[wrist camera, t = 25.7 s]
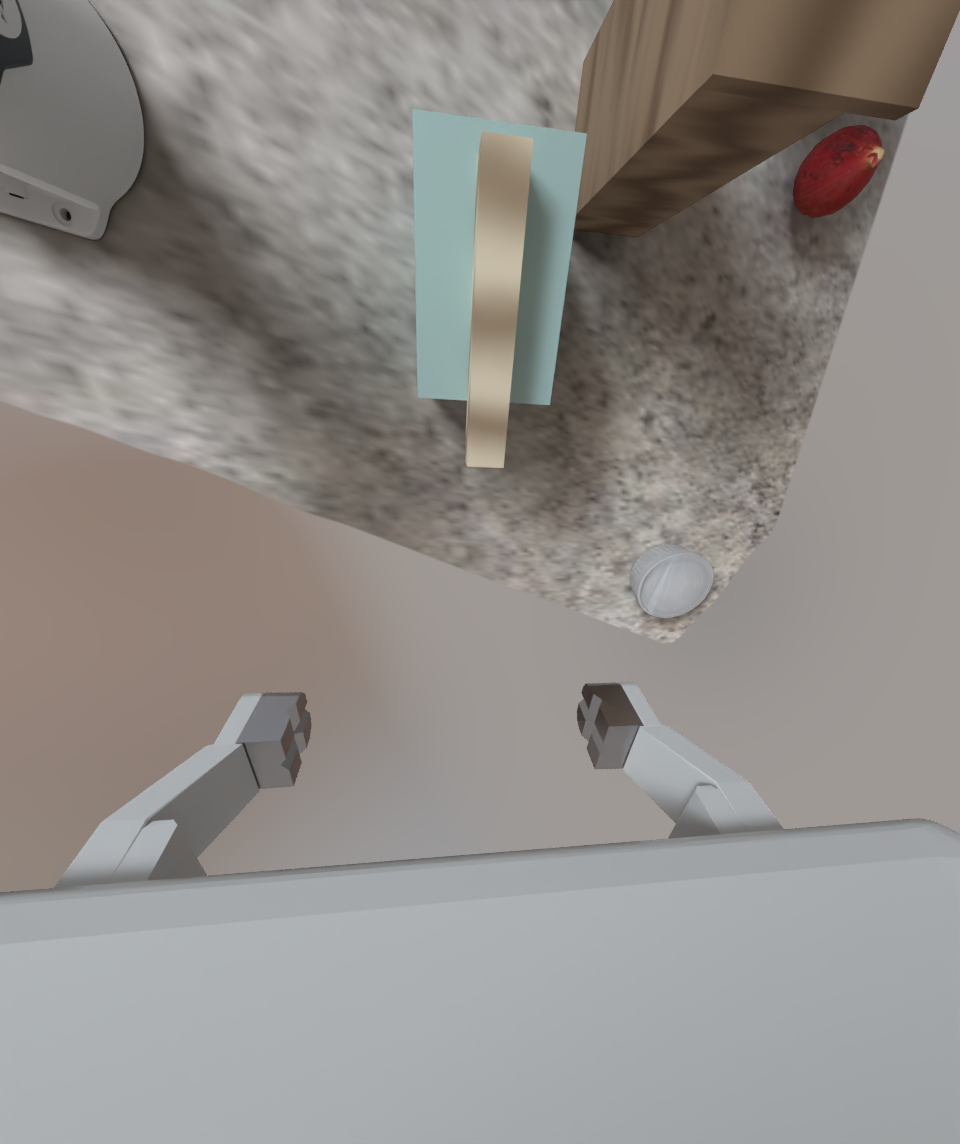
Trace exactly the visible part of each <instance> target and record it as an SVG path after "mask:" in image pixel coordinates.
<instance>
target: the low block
mask: <svg viewBox="0 0 960 1144" xmlns="http://www.w3.org/2000/svg"><path fill="white" fill-rule="evenodd" d="M412 117H413V173H414V229H415V285H416V341H417V397H418V398H430V399H448V400H466V401H467V392H468V368H469V344H470V319H471V295H472V271H473V247H474V223H475V199H476V175H477V154H478V149H479V144H480V139H481V134H482V131H485V132H492V133H499V134H506V135H513V136H520V137H528V138H534V139H533V150H532V161H531V172H530V183H529V194H528V205H527V216H526V227H525V238H524V249H523V260H522V271H521V282H520V293H519V304H518V315H517V326H516V337H515V348H514V359H513V370H512V381H511V392H510V403H519V404H537V405H550V401H551V394H552V386H553V379H554V372H555V364H556V357H557V350H558V342H559V335H560V328H561V320H562V313H563V306H564V298H565V291H566V284H567V276H568V269H569V262H570V254H571V247H572V240H573V232H574V225H575V218H576V210H577V203H578V196H579V188H580V181H581V174H582V166H583V159H584V152H585V144H586V137H587V133H580V132H573V131H566V130H559V129H552V128H545V127H538V126H531V125H524V124H517V123H510V122H503V121H495V120H488V119H481V118H474V117H467V116H460V115H453V114H446V113H439V112H432V111H425V110H418V109H412Z"/></svg>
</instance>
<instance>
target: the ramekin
mask: <svg viewBox="0 0 960 1144" xmlns="http://www.w3.org/2000/svg"><path fill="white" fill-rule="evenodd" d="M713 580H714V572H713V569H712V566H711V564H710V563H709V561H708V560H707V559H705V558H704V557H703V556H702V555H700V554H698V553H696V552H693V551H689V550H687V549H685V548H683V547H681V546H678V545H674V544H664V545H659V546H656V547H654V548H651V549H649V550H648V551H646V552H645V553H643V554H642V555H641V556H640V557H639V558H638V559H637V561H636V562H635V564H634V565H633V567H632V570H631V573H630V584H631V587H632V589H633V592H634V594H635V596H636V600H637V602H638V604H639V606H640V607H641V608H642V609H643V610H644V611H645V612H646V613H647V614H649V615H651V616H654V617H658V618H672V617H676V616H680V615H682V614H685V613H687V612H689V611H691V610H692V609H694V608H695V607H696V606H698V605H699V604H700V603H701V602H702V601H703V600H704V599H705V597H706V596H707V595H708V593H709V591H710V589H711V587H712V584H713Z"/></svg>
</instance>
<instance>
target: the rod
mask: <svg viewBox="0 0 960 1144" xmlns="http://www.w3.org/2000/svg"><path fill="white" fill-rule="evenodd" d="M533 139H534V138H528V137H520V136H513V135H506V134H499V133H492V132H485V131H482V134H481V139H480V144H479V149H478V154H477V175H476V199H475V223H474V247H473V271H472V295H471V319H470V344H469V368H468V392H467V416H466V440H465V461H466V465H467V467H490V468H504V458H505V447H506V436H507V425H508V414H509V403H510V392H511V381H512V370H513V359H514V348H515V337H516V326H517V315H518V304H519V293H520V282H521V271H522V260H523V249H524V238H525V227H526V216H527V205H528V194H529V183H530V172H531V161H532V150H533Z"/></svg>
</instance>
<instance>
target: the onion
mask: <svg viewBox="0 0 960 1144" xmlns="http://www.w3.org/2000/svg"><path fill="white" fill-rule="evenodd" d="M884 153H885V150H884V149H882V145H881V140H880V137H879V135H878V133H877V132H876V131H875V130H873V129H871V128H870V127H868V126H865V125H858V126H849V127H845V128H842V129H840V130H838V131H836V132H835V133H833V134H831V135H830V136H828V137H827V138H825V139H824V140H822V141H821V142H820V143H818V144H817V145H816V146H815V147H814V148H813V150H812V151H811V152H810V153H809V155H808V156H807V157H806V158H805V160H804V161H803V163H802V164H801V166H800V168H799V170H798V173H797V175H796V178H795V181H794V189H793V197H794V202H795V205H796V207H797V208H798V210H799V211H800V212H801V213H802V214H804V215H807V216H809V217H812V218H814V217H820V216H825V215H829V214H833V213H834V212H836V211H838V210H840V209H841V208H842V207H844V206H845V205H847V204H848V203H849V202H851V201H852V200H853V199H854V198H855V197H856V196H857V195H858V194H859V193H860V192H861V191H862V189H863V188H864V187H865V186H866V185H867V183H868V182H869V181H870V179H871V178H872V176H873V174H874V172H875V170H876V168H877V166H878V164H879V163H880V162H881V160H882V159H883V157H884Z"/></svg>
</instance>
